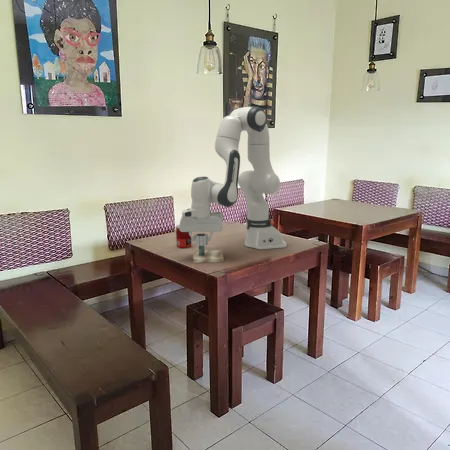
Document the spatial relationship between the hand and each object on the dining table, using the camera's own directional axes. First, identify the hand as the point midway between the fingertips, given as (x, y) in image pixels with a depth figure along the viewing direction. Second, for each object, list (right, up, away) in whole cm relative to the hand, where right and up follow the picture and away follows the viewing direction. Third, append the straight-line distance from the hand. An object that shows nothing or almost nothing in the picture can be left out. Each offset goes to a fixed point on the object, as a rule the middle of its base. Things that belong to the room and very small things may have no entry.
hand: (201, 240), depth 198 cm
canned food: (-10, -4, +22) cm, 25 cm away
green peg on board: (+3, -8, +2) cm, 9 cm away
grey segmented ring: (0, -2, 0) cm, 2 cm away
